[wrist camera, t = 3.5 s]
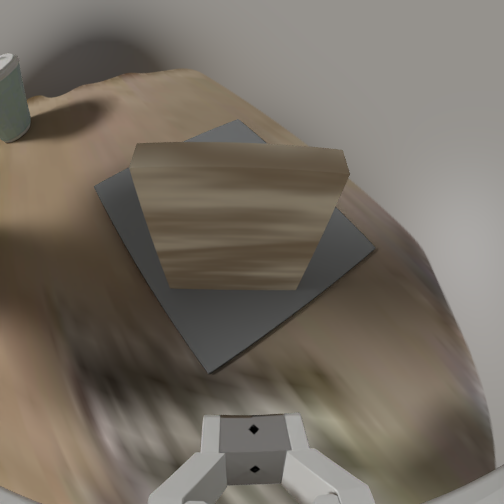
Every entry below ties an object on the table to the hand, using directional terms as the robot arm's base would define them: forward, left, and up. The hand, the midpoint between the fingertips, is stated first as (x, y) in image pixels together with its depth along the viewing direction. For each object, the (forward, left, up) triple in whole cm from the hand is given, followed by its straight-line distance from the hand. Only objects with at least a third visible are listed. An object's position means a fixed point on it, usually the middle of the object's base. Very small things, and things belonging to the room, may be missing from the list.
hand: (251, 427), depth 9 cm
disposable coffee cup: (-8, +56, -18) cm, 59 cm away
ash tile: (+8, +11, -17) cm, 22 cm away
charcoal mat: (+12, +18, -18) cm, 28 cm away
